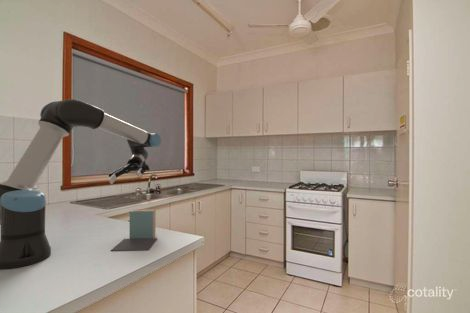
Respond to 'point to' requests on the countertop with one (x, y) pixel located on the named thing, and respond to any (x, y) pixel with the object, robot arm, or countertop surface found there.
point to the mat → (134, 244)
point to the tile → (142, 223)
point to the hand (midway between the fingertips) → (124, 178)
